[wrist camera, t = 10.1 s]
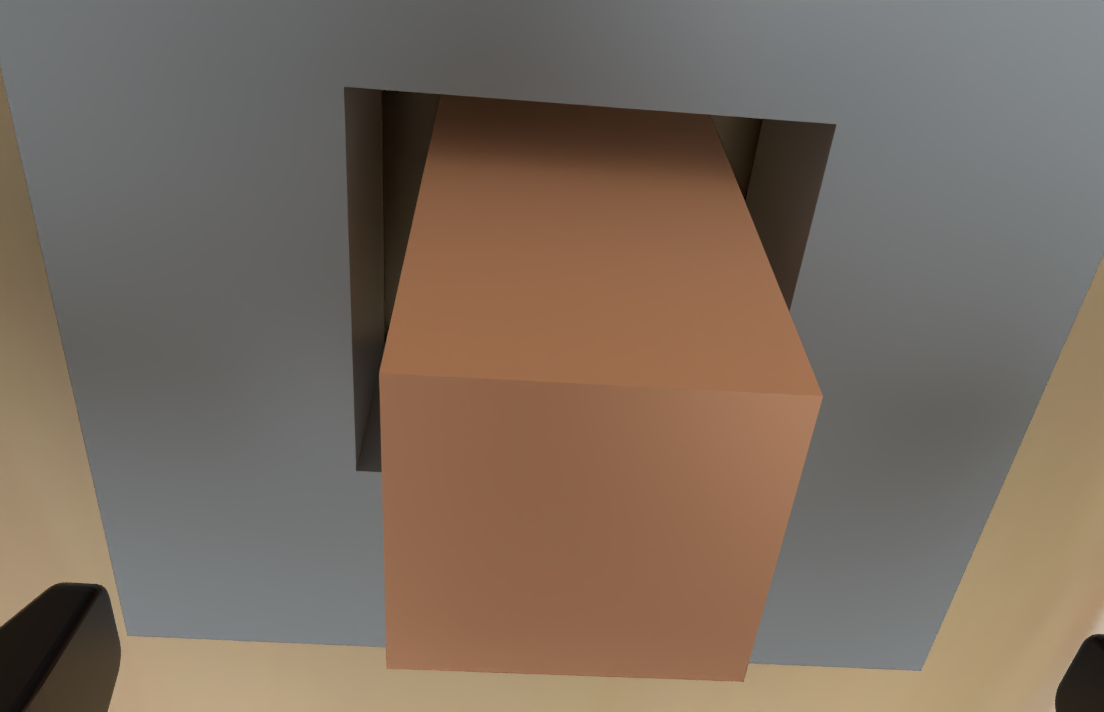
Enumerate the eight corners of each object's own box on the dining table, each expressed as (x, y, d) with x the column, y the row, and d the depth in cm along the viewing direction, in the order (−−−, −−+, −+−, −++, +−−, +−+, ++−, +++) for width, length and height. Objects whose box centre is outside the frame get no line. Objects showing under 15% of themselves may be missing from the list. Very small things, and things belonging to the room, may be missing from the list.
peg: (666, 310, 18) (743, 681, 11) (441, 298, 18) (386, 668, 11) (701, 93, 16) (822, 396, 9) (445, 75, 16) (379, 372, 9)
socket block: (867, 534, 21) (921, 670, 18) (185, 498, 20) (127, 636, 17) (1140, -242, 13) (1311, -218, 10) (52, -349, 12) (-95, -356, 10)
